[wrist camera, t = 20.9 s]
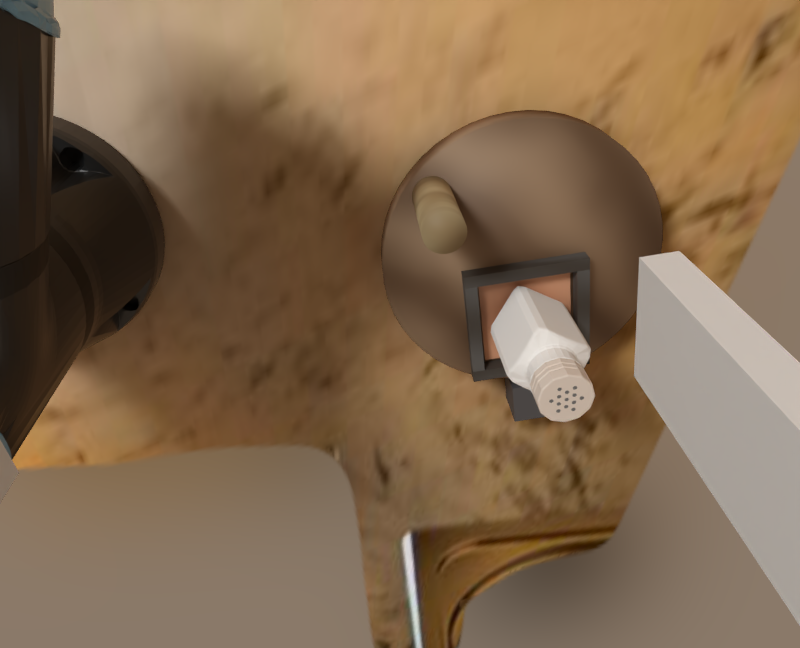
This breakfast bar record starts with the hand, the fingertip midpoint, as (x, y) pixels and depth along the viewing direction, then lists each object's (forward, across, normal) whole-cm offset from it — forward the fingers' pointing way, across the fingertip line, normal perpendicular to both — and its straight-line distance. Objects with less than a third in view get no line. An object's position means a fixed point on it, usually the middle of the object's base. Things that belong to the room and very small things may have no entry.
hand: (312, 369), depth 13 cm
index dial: (+29, +10, -12) cm, 33 cm away
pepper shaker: (+28, +10, -16) cm, 33 cm away
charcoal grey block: (+31, +10, -24) cm, 40 cm away
